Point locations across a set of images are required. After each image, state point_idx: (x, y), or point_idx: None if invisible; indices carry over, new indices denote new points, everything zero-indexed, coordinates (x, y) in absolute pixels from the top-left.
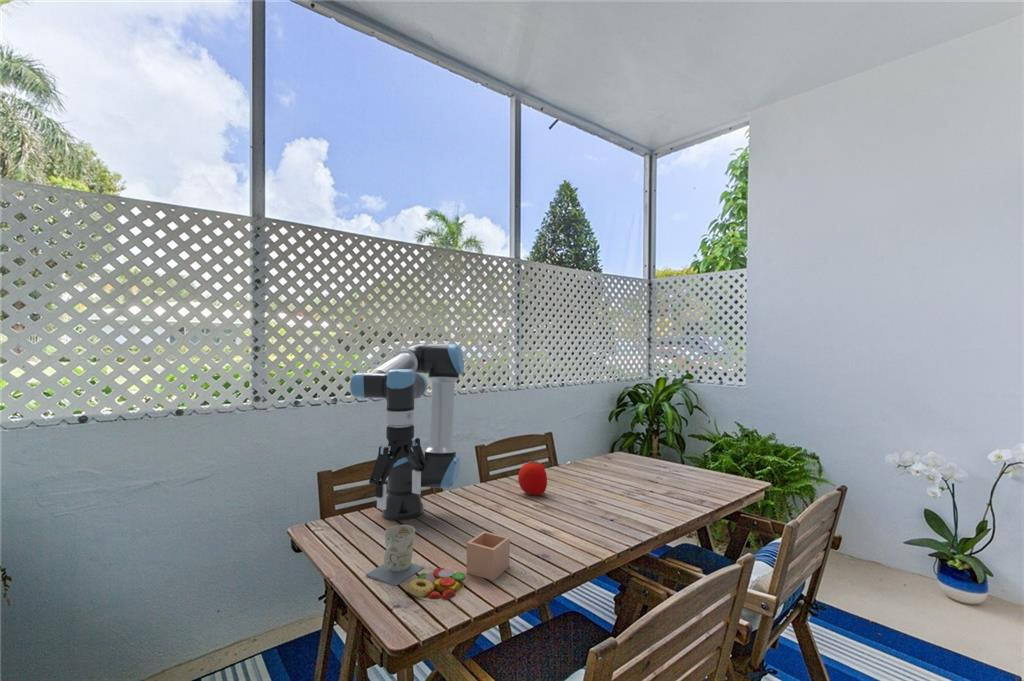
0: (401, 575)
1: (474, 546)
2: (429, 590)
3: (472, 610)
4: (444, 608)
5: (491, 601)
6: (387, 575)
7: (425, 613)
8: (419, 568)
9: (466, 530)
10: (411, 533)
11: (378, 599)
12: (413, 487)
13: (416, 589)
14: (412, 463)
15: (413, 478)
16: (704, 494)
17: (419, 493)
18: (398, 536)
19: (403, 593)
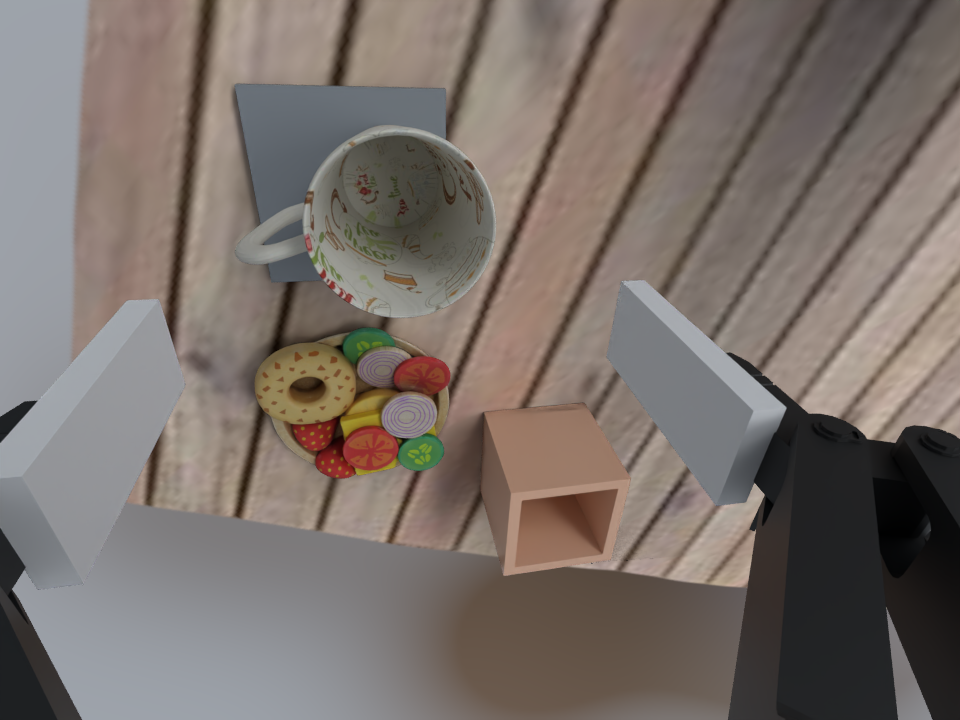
0: None
1: (507, 514)
2: (307, 423)
3: (342, 519)
4: (299, 469)
5: (406, 526)
6: (299, 193)
7: (241, 449)
8: None
9: (816, 194)
10: (474, 241)
11: (170, 281)
12: (642, 322)
13: (265, 408)
14: (769, 561)
15: (688, 375)
16: None
17: (614, 360)
18: (445, 153)
19: (267, 326)
